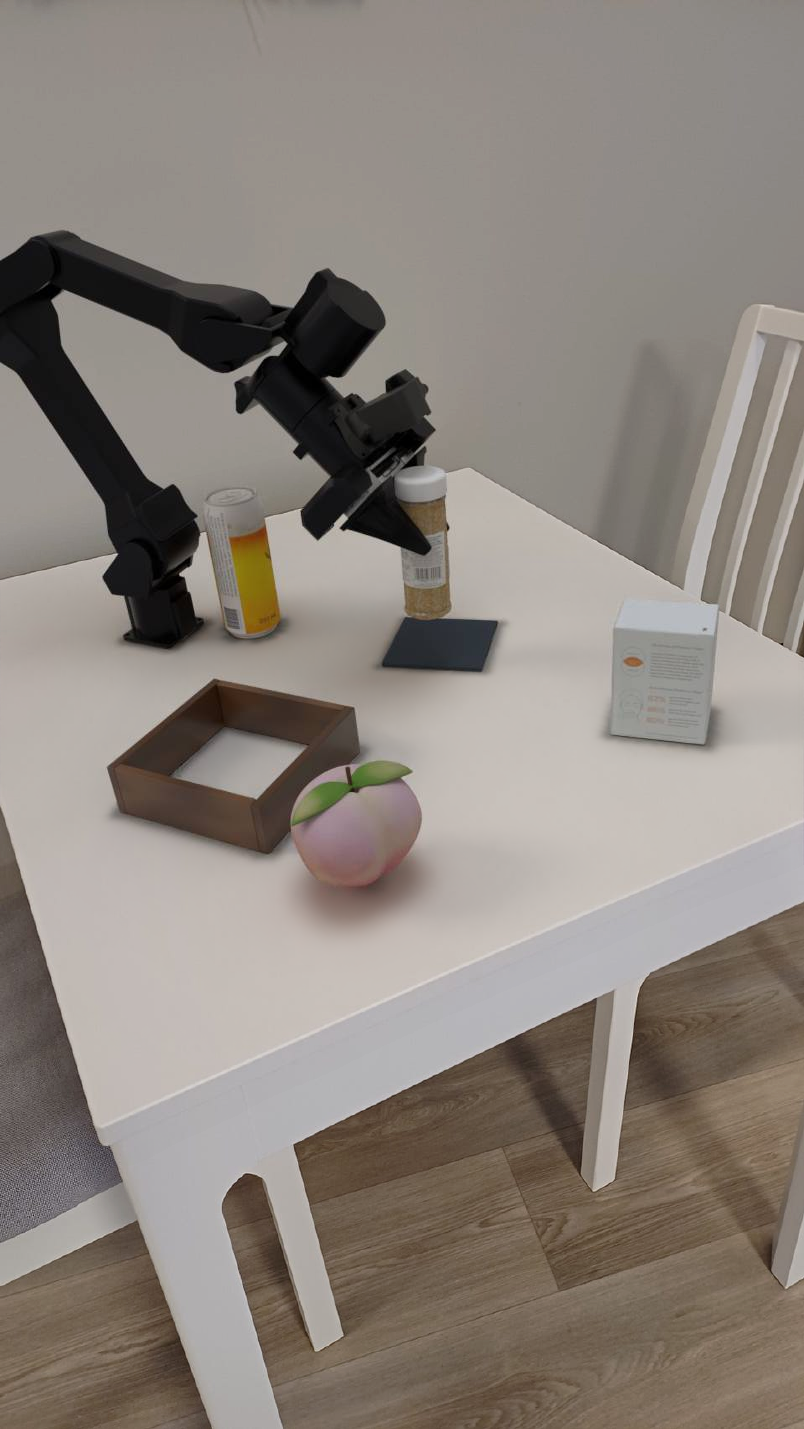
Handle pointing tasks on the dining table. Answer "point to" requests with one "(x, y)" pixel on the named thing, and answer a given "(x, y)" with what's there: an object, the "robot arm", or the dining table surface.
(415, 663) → the slate mat
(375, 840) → the decorative fruit
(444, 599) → the sprinkles bottle
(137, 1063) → the dining table surface
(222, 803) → the walnut box
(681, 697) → the small box
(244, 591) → the beer can
